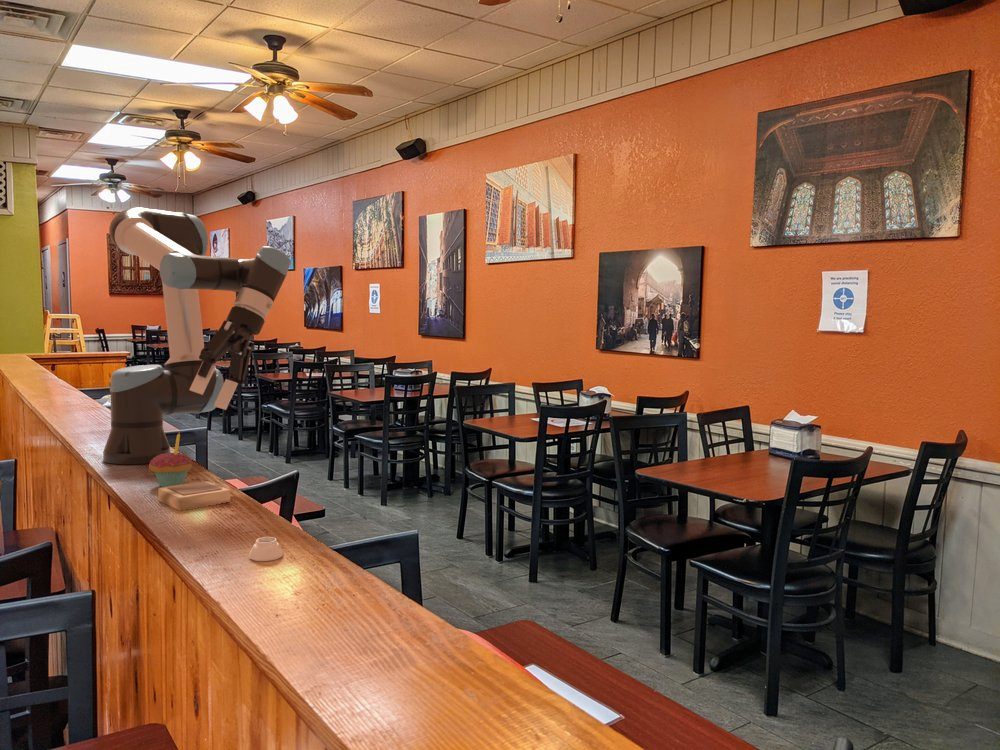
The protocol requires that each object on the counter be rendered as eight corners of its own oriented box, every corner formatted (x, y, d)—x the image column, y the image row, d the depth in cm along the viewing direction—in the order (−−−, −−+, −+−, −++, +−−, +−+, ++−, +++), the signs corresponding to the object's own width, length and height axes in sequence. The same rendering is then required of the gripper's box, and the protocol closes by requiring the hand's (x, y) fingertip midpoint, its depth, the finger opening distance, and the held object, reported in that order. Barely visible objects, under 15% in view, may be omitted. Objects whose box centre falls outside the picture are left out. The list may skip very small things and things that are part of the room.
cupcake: (199, 482, 160) (199, 428, 159) (179, 491, 152) (179, 434, 151) (162, 479, 161) (162, 426, 160) (140, 488, 153) (140, 432, 152)
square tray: (158, 500, 144) (158, 487, 144) (207, 492, 151) (207, 480, 151) (179, 510, 137) (179, 496, 137) (230, 502, 144) (230, 488, 144)
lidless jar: (255, 552, 116) (244, 562, 111) (255, 534, 116) (244, 544, 111) (286, 553, 116) (276, 564, 111) (287, 535, 116) (277, 545, 111)
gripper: (246, 296, 148) (202, 391, 143) (280, 336, 172) (243, 418, 167) (213, 285, 149) (167, 379, 143) (251, 326, 173) (213, 408, 167)
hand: (208, 400), depth 155 cm, fingers open, 13 cm apart
